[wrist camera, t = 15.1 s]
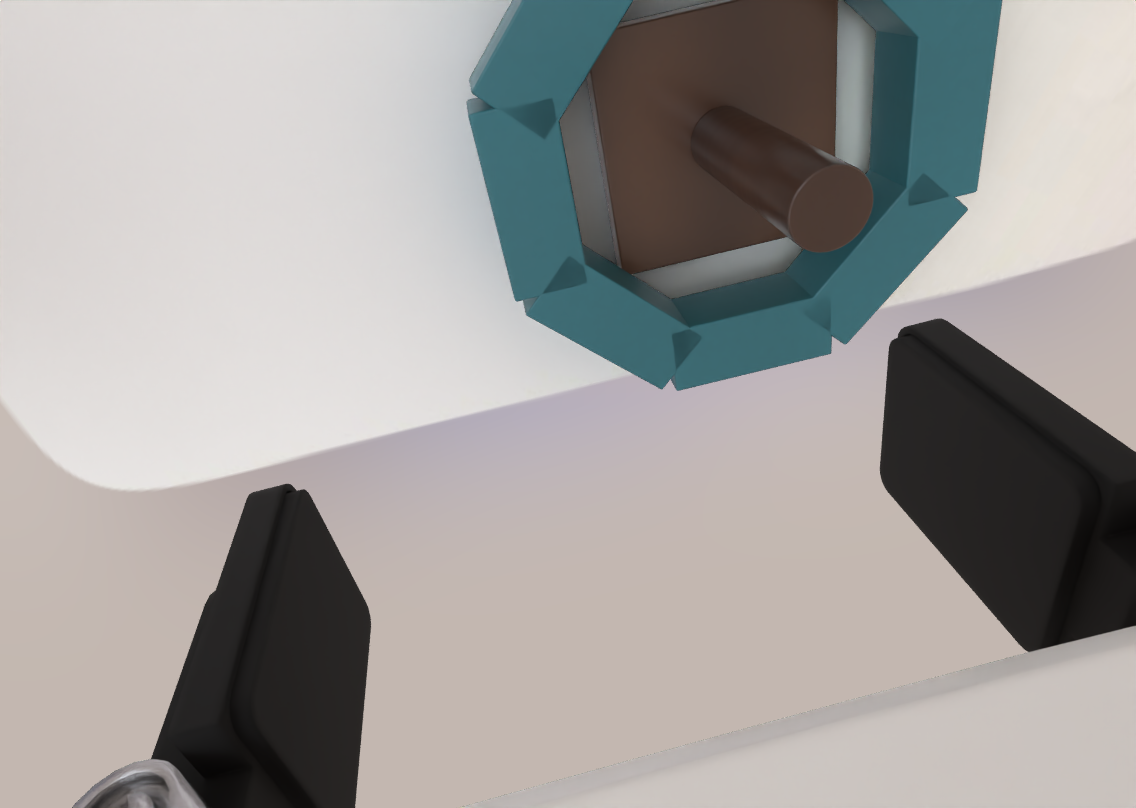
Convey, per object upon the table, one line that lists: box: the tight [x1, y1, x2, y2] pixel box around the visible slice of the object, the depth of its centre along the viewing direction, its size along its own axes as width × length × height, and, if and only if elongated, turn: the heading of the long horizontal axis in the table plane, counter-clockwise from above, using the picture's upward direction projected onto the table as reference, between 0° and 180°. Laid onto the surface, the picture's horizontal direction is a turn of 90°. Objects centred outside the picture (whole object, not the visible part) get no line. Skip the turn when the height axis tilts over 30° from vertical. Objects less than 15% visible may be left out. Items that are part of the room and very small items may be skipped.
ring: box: [467, 0, 1002, 391], centre depth 25 cm, size 18×18×3 cm
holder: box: [586, 0, 873, 274], centre depth 23 cm, size 9×9×10 cm
